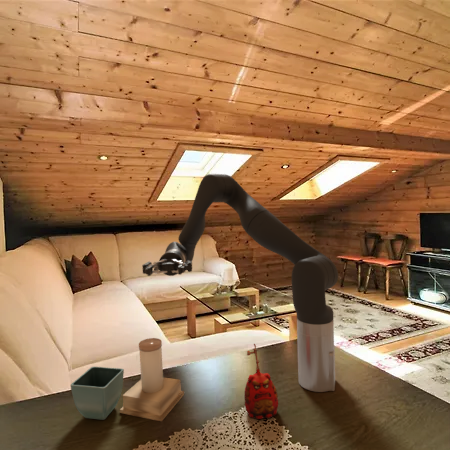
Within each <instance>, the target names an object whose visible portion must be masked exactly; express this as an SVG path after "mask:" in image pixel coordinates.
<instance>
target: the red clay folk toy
mask: <svg viewBox="0 0 450 450" xmlns="http://www.w3.org/2000/svg"><path fill="white" fill-rule="evenodd" d="M256 345H257V344H256V343H253V346H254V348H252V350H253V351H250V350H247V353H246V356H250V355H252V354H254V356H255V363H256V369H255V370H256V371H255V373H253V374H250V375H248V378H247V380H246V381H247V382H246V384H245V388H244V408H245V410H246V413H247V415H248V417H250V418H251V419H252V418H253V419H257V420H262V419H270V418H273V417H275V416H277V414H278V413H277V412H278V408H279V407H278V406H279V400H278V397H279V395H278V392H277V388H276V386H275V385H274V382H273V381H272V379H271V375H270V373H269V372H266V373H262V372H261V370H260V366H259V363H260V361H259V359H258V351H260V349H259V348H258V349H257V346H256Z"/></svg>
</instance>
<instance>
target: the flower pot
mask: <svg viewBox="0 0 450 450" xmlns="http://www.w3.org/2000/svg"><path fill="white" fill-rule="evenodd" d="M124 371H125V369H124V368H119V367H103V366H91V367H90V368H88V369H87V370H86V371H85V372H84V373H83V374H81V375H80V376H79V377H78V378H76V380H74V381H73V382H71V384H70V391H71V394H72V399H73V403H74V405H75V408H76V410H77V411H78V412H79V413H80V415H82V417H84V418H85V419H90V420H91V419H94V420H101V421H104V420H106V419H107V418H108V416H109V415H110V414H111V413H112V412H113V410H114V409H115V408H116V407H117V404H118V403H119V401H120V398H121V396H122V392H123V388H124V373H125V372H124Z"/></svg>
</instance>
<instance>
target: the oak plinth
mask: <svg viewBox="0 0 450 450" xmlns="http://www.w3.org/2000/svg"><path fill="white" fill-rule="evenodd" d="M181 382H182V381H181V379H177V378H171V377H164V376H163V385H164V386H163V388H162V389H161V390H159V391H157V392H154V393H146V392H144V391H142V384H141V379H139V380H138V381H137V382H136V383H135V384H134V385H132V386H131V388H129V389H128V390H127V391H125V393H123V394H122V407H121V408H119V413H120V414H125V415H127V416H128V415H129V416H133V417H137V418H143V419H147V420H153V421H158V422H163V421H164V419H165V418H166V417H167V416H168V415H169V413H170V412H171V411H172V410H173V409H174V407H175V406H176V405H177V404H178V403H179V401H180V400H181V399H182V398H183V397H184V395H185V391H184V390H182V385H181Z"/></svg>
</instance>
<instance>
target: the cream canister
mask: <svg viewBox="0 0 450 450" xmlns="http://www.w3.org/2000/svg"><path fill="white" fill-rule="evenodd" d="M162 344H163V343H162V340H161V339H160V338H157V337H149V338H145V339H143V340H141V341H140V342H139V343H138V350H139V362H140V364H139V365H140V367H139V368H140V380H141V384H142V391H144V392H146V393H154V392H157V391H159V390H161V389H162V388H163V386H164V385H163V377H164V373H163V372H164V371H163V370H164V369H163V352H162V346H163V345H162Z"/></svg>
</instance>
